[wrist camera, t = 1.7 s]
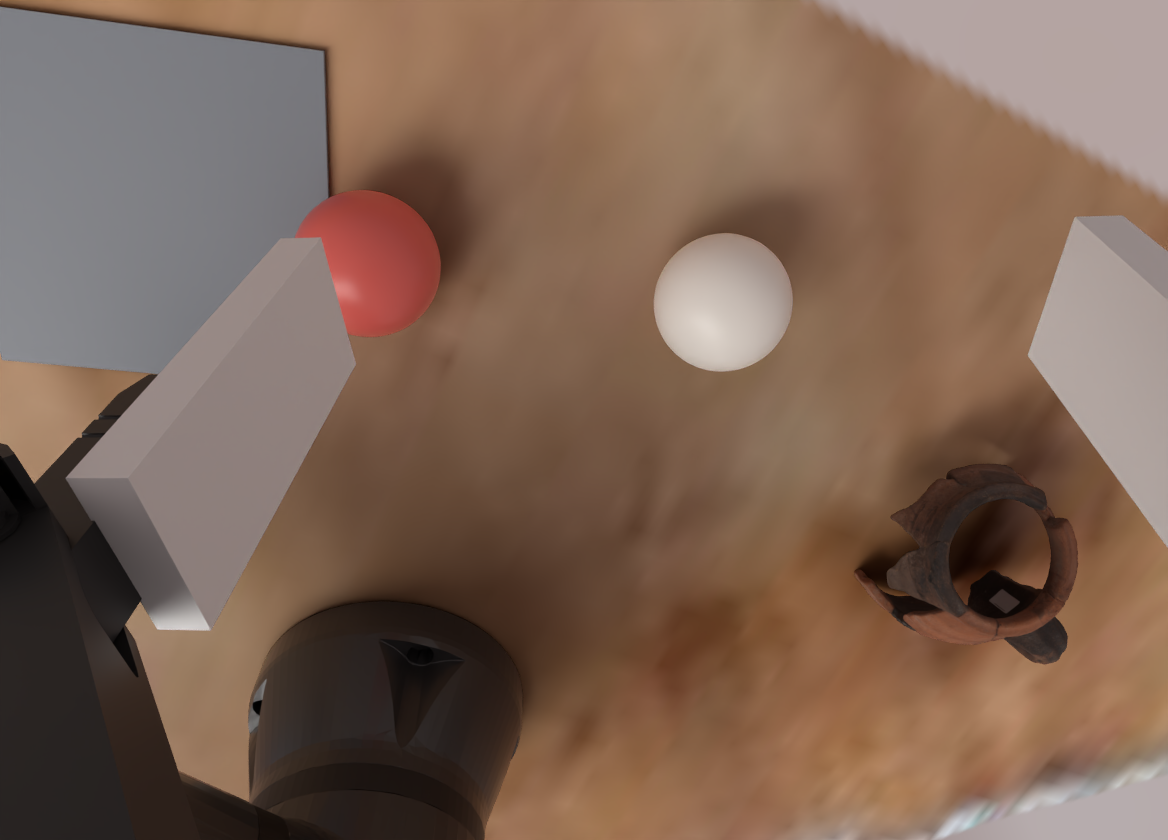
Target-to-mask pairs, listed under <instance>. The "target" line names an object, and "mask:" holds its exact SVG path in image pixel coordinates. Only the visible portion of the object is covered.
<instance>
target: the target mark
mask: <svg viewBox="0 0 1168 840" xmlns="http://www.w3.org/2000/svg"><path fill="white" fill-rule="evenodd" d="M328 198H329V170H328V138H327V105H326V73H325V51H323V50H316V49H309V48H302V47H294V46H287V45H280V44H272V43H265V42H258V41H250V40H243V39H236V38H228V37H221V36H214V35H206V34H199V33H192V32H185V31H177V30H170V29H163V28H155V27H148V26H141V25H133V24H126V23H119V22H111V21H104V20H97V19H89V18H82V17H75V16H68V15H60V14H53V13H46V12H38V11H31V10H24V9H16V8H9V7H2V6H0V354H1V357H2V360H8V361H19V362H31V363H42V364H53V365H64V366H75V367H86V368H98V369H109V370H120V371H131V372H142V373H154V374H159V373H160V372H161V371H162V370H163V369H164V368H165V367H166V365H167V364H168V363H169V362H170V361H171V360H172V359H173V358H174V357H175V355H176V354H177V353H178V352H179V351H180V350H181V349H182V348H183V347H184V345H185V344H186V343H187V342H188V341H189V340H190V339H191V338H192V336H193V335H194V334H195V333H196V332H197V331H198V330H199V329H200V328H201V326H202V325H203V324H204V323H205V322H206V321H207V320H208V319H209V318H210V316H211V315H212V314H213V313H214V312H215V311H216V310H217V309H218V308H219V306H220V305H221V304H222V303H223V302H224V301H225V300H226V299H227V297H228V296H229V295H230V294H231V293H232V292H233V291H234V290H235V289H236V287H237V286H238V285H239V284H240V283H241V282H242V281H243V280H244V279H245V277H246V276H247V275H248V274H249V273H250V272H251V271H252V270H253V269H254V267H255V266H256V265H257V264H258V263H259V262H260V261H261V260H262V258H263V257H264V256H265V255H266V254H267V253H268V252H269V251H270V250H271V248H272V247H273V246H274V245H275V244H276V243H277V242H278V241H279V240H280V238H295V235H296V233H297V231H298V229H299V227H300V225H301V223H302V222H303V220H304V219H305V217H306V216H307V215H308V214H309V213H310V211H311V210H312V209H313V208H315V207H316V206H317V205H319V204H320V203H321V202H323V201H324V200H326V199H328Z"/></svg>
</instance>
